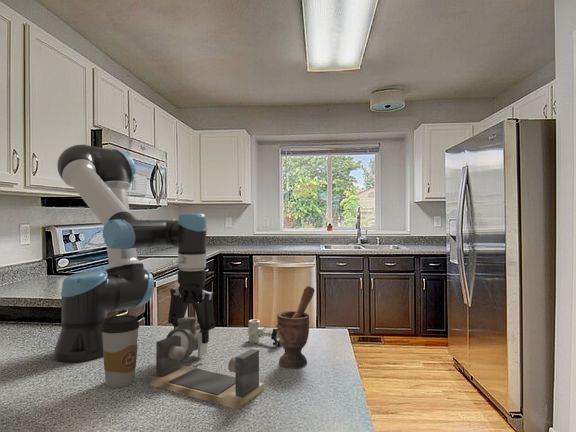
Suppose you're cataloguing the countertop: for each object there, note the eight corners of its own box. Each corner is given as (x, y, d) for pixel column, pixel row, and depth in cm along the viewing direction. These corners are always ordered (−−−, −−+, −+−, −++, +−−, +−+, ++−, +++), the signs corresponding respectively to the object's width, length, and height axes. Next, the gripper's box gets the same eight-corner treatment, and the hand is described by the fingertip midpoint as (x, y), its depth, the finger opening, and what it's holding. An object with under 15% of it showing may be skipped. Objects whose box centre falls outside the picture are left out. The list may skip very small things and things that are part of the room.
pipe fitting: (189, 361, 97) (189, 320, 99) (163, 359, 100) (164, 319, 102) (214, 352, 108) (214, 315, 110) (190, 350, 111) (190, 314, 113)
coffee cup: (114, 393, 84) (115, 325, 85) (93, 384, 89) (93, 320, 89) (146, 379, 91) (146, 317, 92) (125, 372, 96) (125, 313, 96)
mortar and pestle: (291, 353, 110) (290, 283, 110) (319, 357, 106) (318, 285, 106) (271, 366, 100) (271, 290, 100) (301, 372, 96) (301, 292, 96)
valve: (242, 343, 120) (273, 349, 113) (242, 322, 120) (273, 327, 113) (255, 337, 125) (285, 343, 119) (255, 317, 125) (285, 322, 119)
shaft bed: (149, 385, 88) (149, 344, 88) (180, 370, 97) (180, 333, 97) (237, 409, 77) (237, 361, 77) (263, 390, 85) (263, 347, 86)
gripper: (154, 267, 107) (153, 349, 106) (212, 273, 97) (210, 363, 97) (174, 265, 113) (173, 342, 113) (230, 270, 104) (228, 354, 103)
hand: (190, 351), depth 105 cm, fingers closed on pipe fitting, 7 cm apart
